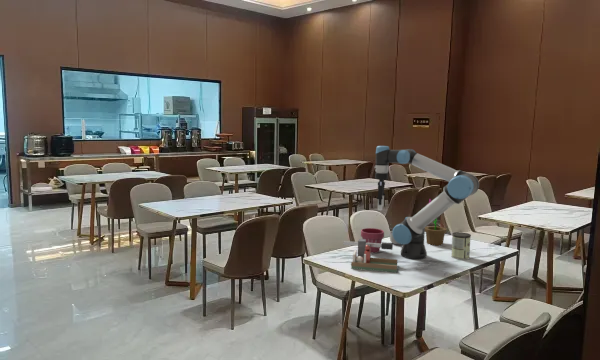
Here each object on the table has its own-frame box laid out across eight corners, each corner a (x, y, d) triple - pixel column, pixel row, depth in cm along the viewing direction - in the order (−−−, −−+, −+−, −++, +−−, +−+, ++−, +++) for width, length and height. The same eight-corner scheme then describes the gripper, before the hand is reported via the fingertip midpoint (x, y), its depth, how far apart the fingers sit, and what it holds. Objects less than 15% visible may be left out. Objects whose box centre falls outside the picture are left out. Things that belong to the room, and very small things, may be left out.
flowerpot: (420, 241, 303) (422, 197, 299) (440, 240, 304) (442, 197, 301) (428, 246, 288) (430, 200, 285) (449, 246, 290) (452, 200, 286)
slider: (392, 259, 252) (392, 242, 251) (391, 266, 240) (391, 248, 239) (343, 255, 259) (344, 238, 257) (340, 262, 246) (340, 244, 245)
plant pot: (386, 253, 271) (386, 233, 269) (363, 254, 270) (363, 233, 268) (380, 247, 285) (380, 227, 283) (358, 247, 284) (358, 228, 282)
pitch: (397, 262, 253) (398, 241, 251) (396, 272, 236) (397, 249, 234) (354, 259, 258) (355, 238, 257) (351, 268, 241) (351, 246, 240)
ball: (357, 254, 248) (355, 260, 249) (356, 256, 244) (354, 262, 245) (364, 256, 247) (362, 263, 248) (363, 258, 243) (361, 265, 244)
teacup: (406, 246, 289) (406, 234, 288) (389, 245, 291) (389, 233, 290) (405, 240, 303) (406, 229, 302) (389, 239, 305) (389, 228, 304)
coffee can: (452, 254, 272) (453, 231, 270) (470, 256, 268) (471, 233, 266) (450, 258, 263) (451, 235, 261) (468, 260, 258) (470, 236, 257)
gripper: (376, 170, 274) (375, 204, 276) (373, 174, 249) (372, 211, 252) (389, 170, 272) (388, 205, 274) (387, 174, 248) (386, 212, 250)
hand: (380, 208), depth 263 cm, fingers open, 13 cm apart
